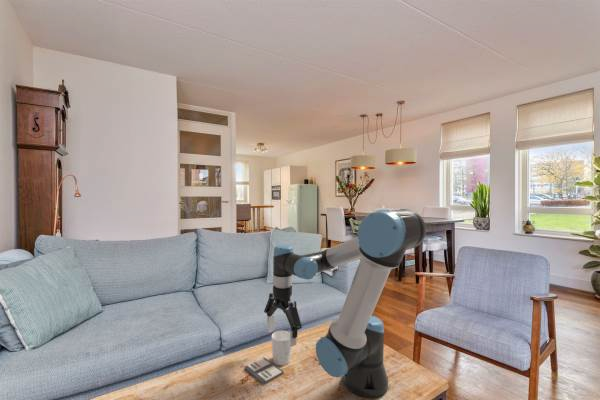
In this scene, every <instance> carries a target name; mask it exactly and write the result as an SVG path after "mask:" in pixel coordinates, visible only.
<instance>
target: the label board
mask: <svg viewBox="0 0 600 400" xmlns="http://www.w3.org/2000/svg"><path fill="white" fill-rule="evenodd" d="M244 370H245V371H246V372H248V373H249V374H250V375H251V376H252V377H253V378H255V379H256V380H257V381H258V382H259V383H261V385H263V386H264V385H266V384H267V383H269V382H272V381H273V380H275V379H276V378H278V377H280V376H282V375H284V374H285V373H284V370H282V369H281V368H279V366H278V365H276V364H275V363H274V362H271V361H270V360H268V359H267V358H266V357H260V358H259V359H256V360H255V361H252V362H250V363H248V364H246V366H244Z"/></svg>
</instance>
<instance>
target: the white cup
mask: <svg viewBox="0 0 600 400" xmlns="http://www.w3.org/2000/svg"><path fill="white" fill-rule="evenodd" d="M291 351H292V347H290V331H287V330H276V331H273V333H272V334H271V352H272V363H273V364H274V365H276V366H285V365H288V364H289V363H290V361H291Z"/></svg>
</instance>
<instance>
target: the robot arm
mask: <svg viewBox="0 0 600 400" xmlns="http://www.w3.org/2000/svg"><path fill="white" fill-rule="evenodd" d="M426 234H427V226H426V223H425V221H424V219H423V218H422V216H421V215H420V214H419V213H418V212H416V211H414V210H411V209H407V208H404V209H403V208H401V209H391V210H390V209H380V210H378V211H374V212H371V213H369V214H368V215H366V216H365V217H364V218H363V219H362V220H361V221H360V223H359V226H358V227H357V236H356V237H353V238H350V239H349V240H348V239H347V240H346V241H343V242H341V243H339V244H337V245H334V246H333V245H332V247H329V248H326V249H324V250H322V251H317V252H313V253H312V252H311V253H307V254H303V255H302V254H296V253H294V248H293V246H291V245H288V244H280V245H276V246H274V248H273V256H272V260H273V261H272V262H273V263H272V266H273V267H272V269H273V270H272V271H273V272H272V274H273V275H272V284H273V285H272V292H270V293H269V294H268V299H267V302H266V305H265V307H264V313H265V314H266V317H267V333H272V332H275V312H276V311H277V310H278V309H279V310H281V311H282V312H283V313H284V314H285V316H286V318H287V321H288V323H289V326H290V329H289V332H290V347H291V348H292V347H293V346H295V345H297V338H298V330H300V329H302V328H303V327H302V323H301V319H300V315H299V311H298V308H297V302H296V301H295V300H294V301H292V300H291V297H292V294H293V286H292V284H293V276H296V277H298V278H300V279H302V280H303V279H304V280H312V279H313V278H314V277H316V275H317V273H322V272H326V271H331V270H334V269H335V268H337V267H340V266H344V265H346V264H348V263H351V262H355V261H358V260H360V261H359V262H358V263H359V264H358V265H357V268H356V271H355V274H354V276H353V279H352V281H351V284H350V287H349V289H348V292H347V295H346V297H345V300H344V303H343V304H342V307H341V310H340V313H339V316H338V318H336V319H334V320H332V321H331V323H330V325H329V328H328V331H327V333H326V335H325V336H321V337H320V338H319V339H318V340H317V341H316V344H315V352H316V357H317V361H318V362H319V364H320V366H321V367H322V369H323V370H324V371H325V372H326V373H327V374H328V375H329V376H331V377H333V378H340V377H343V384H344V386H345V387H346V388H347V389H348V390H349V392H351V393H352V394H355V395H357V396H360V397H363V398H367V399H368V398H370V399H374V398H375V399H376V398H378V397H382V396H384V395H385V394H386V393H387V392H388V390H389V377H388V375H387V372H386V371H387V370H386V367H385V365H384V345H385V344H384V342H385V326H384V322H383V321H382V320H381V319H380V318H379V317H376V316H375V315H373V314H374V311H375V308H376V307H377V304H378V302H379V299H380V296H381V295H382V292H383V290H384V287H385V285H386V283H387V280H388V278H389V275H390V274H391V271H392V269H393V270H394V269H396V268H397V269H398V268H399V267H400V265H401V263H402V260H403V258H404V256H405V253H406V251H408V250H409V251H410V250H412V249H414V248H417V247H418V246H419V245H421V244H422V243H423V241H424V240H425V238H426Z"/></svg>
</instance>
